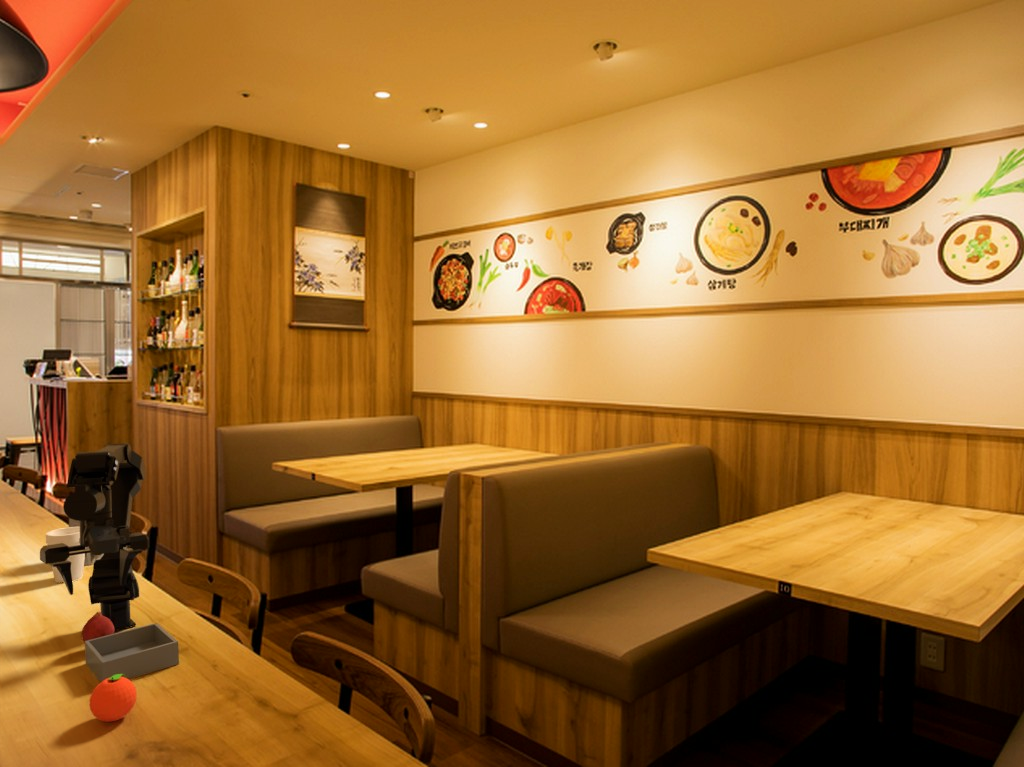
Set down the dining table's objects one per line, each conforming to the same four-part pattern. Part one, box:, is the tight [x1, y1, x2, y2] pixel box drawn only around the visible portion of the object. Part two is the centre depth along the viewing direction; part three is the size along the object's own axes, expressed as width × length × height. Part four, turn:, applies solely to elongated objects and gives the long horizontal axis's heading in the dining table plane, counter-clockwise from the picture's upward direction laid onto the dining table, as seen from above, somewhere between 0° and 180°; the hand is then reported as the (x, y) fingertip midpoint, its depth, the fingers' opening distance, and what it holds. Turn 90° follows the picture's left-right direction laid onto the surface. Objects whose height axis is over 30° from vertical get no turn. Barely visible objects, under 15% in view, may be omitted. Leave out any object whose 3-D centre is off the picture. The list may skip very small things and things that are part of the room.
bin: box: [84, 622, 180, 684], centre depth 140 cm, size 13×13×4 cm
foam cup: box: [45, 526, 86, 584], centre depth 191 cm, size 10×9×13 cm
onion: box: [80, 611, 115, 644], centre depth 147 cm, size 6×6×8 cm
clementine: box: [89, 674, 137, 723], centre depth 120 cm, size 8×7×7 cm
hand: (97, 589), depth 146 cm, fingers open, 9 cm apart
